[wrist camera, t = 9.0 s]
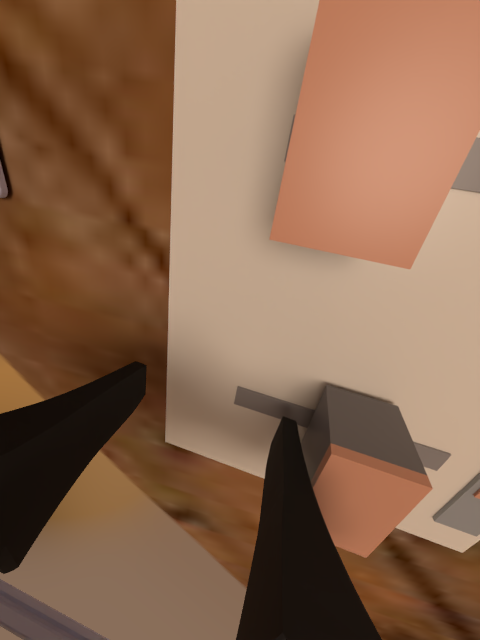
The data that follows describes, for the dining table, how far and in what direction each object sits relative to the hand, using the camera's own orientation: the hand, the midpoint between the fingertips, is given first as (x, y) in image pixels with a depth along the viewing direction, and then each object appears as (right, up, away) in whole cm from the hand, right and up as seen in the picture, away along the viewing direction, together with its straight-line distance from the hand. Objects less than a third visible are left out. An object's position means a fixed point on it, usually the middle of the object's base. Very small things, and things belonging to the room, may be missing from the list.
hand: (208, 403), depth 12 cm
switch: (+6, -1, 0) cm, 6 cm away
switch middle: (+5, +9, -5) cm, 11 cm away
